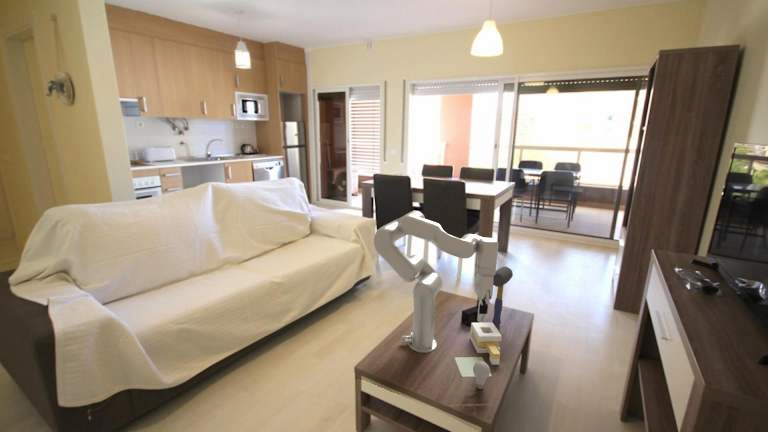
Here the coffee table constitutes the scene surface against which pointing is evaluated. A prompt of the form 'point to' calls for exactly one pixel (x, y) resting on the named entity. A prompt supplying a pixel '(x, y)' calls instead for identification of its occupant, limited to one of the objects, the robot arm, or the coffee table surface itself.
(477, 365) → the lightbulb
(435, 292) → the robot arm
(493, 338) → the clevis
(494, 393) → the coffee table surface
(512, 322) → the coffee table surface
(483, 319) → the steel pin
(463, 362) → the pin mat
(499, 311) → the rubber mallet
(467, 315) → the digital camera
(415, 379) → the coffee table surface
